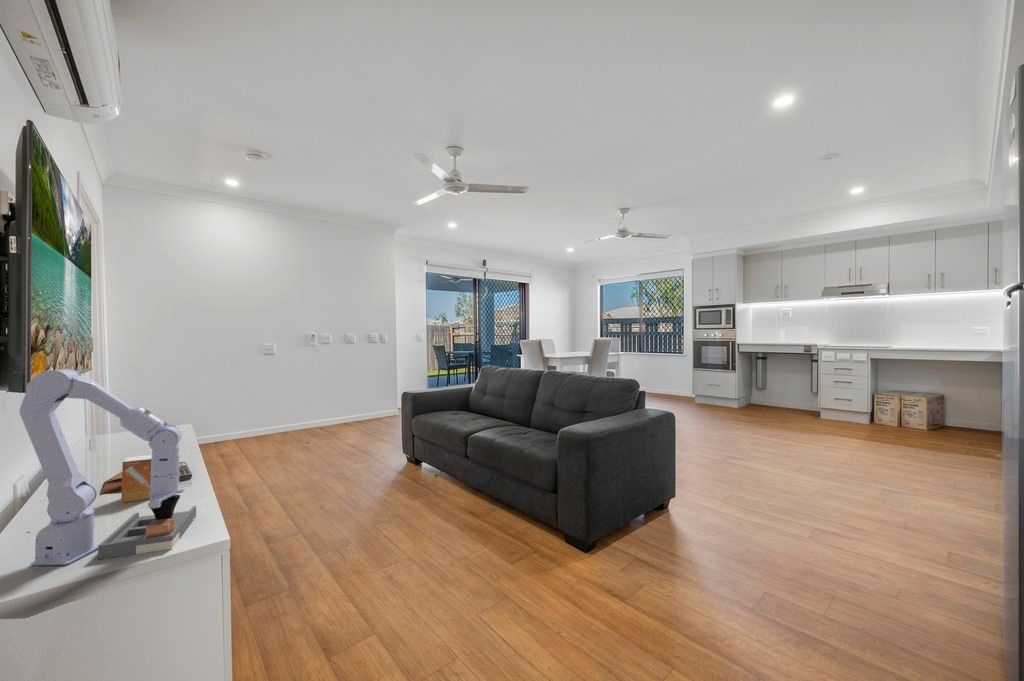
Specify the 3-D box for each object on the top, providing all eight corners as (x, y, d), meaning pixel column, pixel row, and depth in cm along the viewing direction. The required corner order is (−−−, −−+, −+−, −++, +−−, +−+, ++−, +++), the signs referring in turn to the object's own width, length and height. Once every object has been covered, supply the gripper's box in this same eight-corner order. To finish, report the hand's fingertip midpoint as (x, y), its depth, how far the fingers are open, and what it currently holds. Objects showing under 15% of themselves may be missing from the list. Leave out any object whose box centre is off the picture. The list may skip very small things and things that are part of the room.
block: (168, 539, 107) (168, 524, 107) (145, 542, 105) (145, 527, 105) (174, 531, 111) (174, 518, 111) (152, 534, 109) (152, 520, 109)
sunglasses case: (102, 481, 155) (115, 464, 158) (125, 488, 159) (137, 470, 161) (99, 495, 142) (113, 476, 144) (123, 502, 146) (137, 483, 148)
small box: (120, 503, 135) (121, 461, 135) (124, 497, 140) (125, 457, 141) (154, 498, 140) (155, 458, 140) (157, 492, 145) (157, 453, 145)
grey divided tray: (172, 549, 106) (172, 535, 106) (97, 559, 100) (98, 545, 100) (196, 517, 125) (196, 506, 125) (135, 524, 120) (135, 512, 120)
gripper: (174, 480, 106) (173, 535, 106) (192, 464, 120) (191, 514, 120) (138, 483, 104) (137, 540, 104) (160, 467, 117) (159, 517, 117)
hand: (164, 526), depth 112 cm, fingers closed
